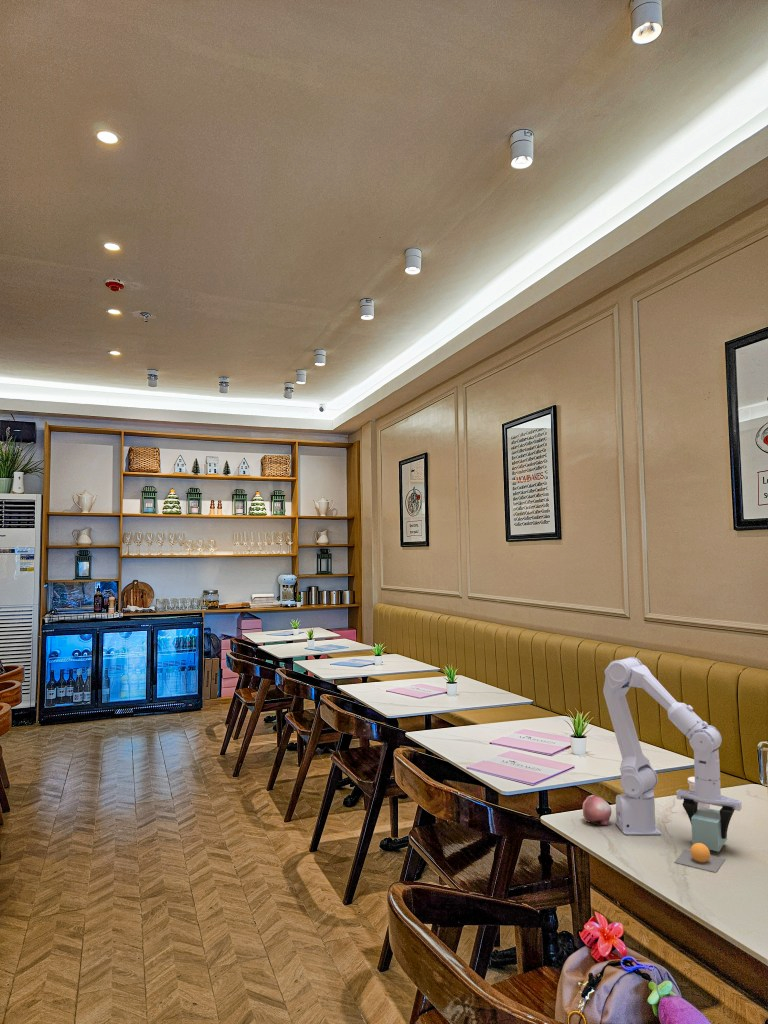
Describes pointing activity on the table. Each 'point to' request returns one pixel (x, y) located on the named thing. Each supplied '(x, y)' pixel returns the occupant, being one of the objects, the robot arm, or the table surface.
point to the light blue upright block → (707, 828)
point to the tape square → (688, 860)
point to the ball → (700, 852)
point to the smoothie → (692, 788)
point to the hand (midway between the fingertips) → (709, 834)
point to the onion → (596, 810)
